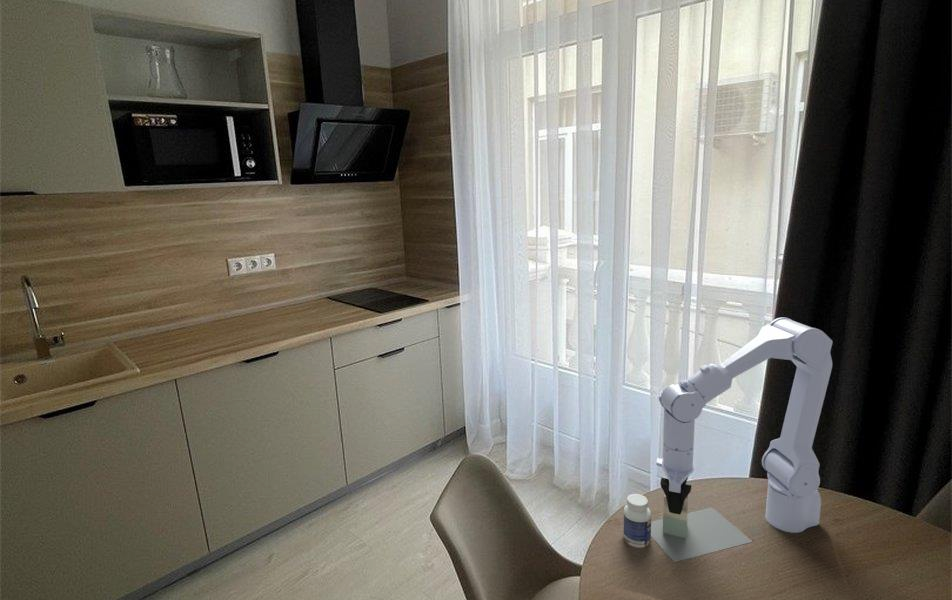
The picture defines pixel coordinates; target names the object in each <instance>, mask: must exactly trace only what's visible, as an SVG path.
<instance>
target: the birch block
mask: <svg viewBox="0 0 952 600" xmlns="http://www.w3.org/2000/svg"><path fill="white" fill-rule="evenodd" d="M663 493H664V492H663ZM662 511H663V515H662V517H663V516H667V517H672V518H676V519H680V520H685V521H687V512H688V513H689V494H688V495H687V497H686V499H685V501H684V504H683V508H682V512H681V514H680V515H679V514H674V513H670V512H669V509H668V504H667V499H666V495H665V493H664V494H663V510H662Z"/></svg>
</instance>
